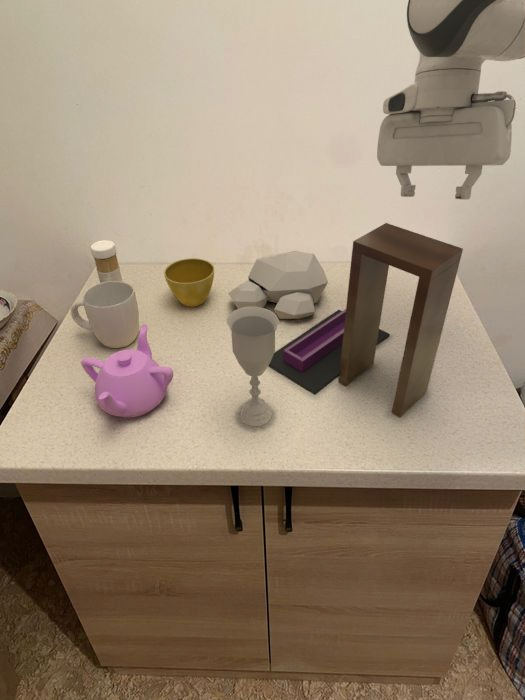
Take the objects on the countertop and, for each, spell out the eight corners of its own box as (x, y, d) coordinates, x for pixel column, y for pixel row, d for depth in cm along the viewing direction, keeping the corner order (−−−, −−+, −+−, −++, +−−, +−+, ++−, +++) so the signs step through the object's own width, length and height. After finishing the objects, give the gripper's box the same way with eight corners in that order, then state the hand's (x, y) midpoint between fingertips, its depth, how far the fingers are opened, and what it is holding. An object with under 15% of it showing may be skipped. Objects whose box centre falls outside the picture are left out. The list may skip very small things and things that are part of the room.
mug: (149, 326, 98) (141, 282, 92) (133, 354, 91) (123, 309, 85) (88, 321, 100) (76, 277, 94) (68, 349, 93) (53, 303, 87)
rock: (325, 327, 97) (329, 284, 91) (224, 321, 99) (220, 279, 93) (327, 279, 111) (330, 239, 105) (238, 275, 113) (235, 235, 107)
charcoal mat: (338, 311, 101) (338, 309, 101) (389, 335, 95) (389, 333, 94) (262, 362, 89) (262, 360, 89) (314, 394, 83) (314, 392, 82)
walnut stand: (366, 360, 89) (386, 222, 73) (426, 392, 83) (463, 248, 66) (338, 382, 85) (353, 241, 69) (400, 418, 78) (432, 270, 62)
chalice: (224, 414, 79) (215, 321, 68) (253, 392, 83) (250, 300, 72) (258, 438, 75) (255, 343, 64) (287, 413, 79) (289, 320, 68)
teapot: (153, 362, 90) (145, 322, 84) (184, 410, 80) (177, 368, 75) (87, 386, 85) (74, 344, 80) (111, 439, 76) (98, 397, 70)
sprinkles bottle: (121, 294, 108) (108, 237, 99) (131, 303, 105) (118, 245, 96) (101, 302, 105) (86, 244, 97) (111, 311, 103) (96, 252, 94)
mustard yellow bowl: (162, 311, 102) (157, 281, 98) (176, 286, 110) (172, 256, 106) (210, 315, 101) (207, 284, 97) (221, 289, 109) (218, 259, 104)
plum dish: (358, 310, 101) (359, 299, 99) (376, 319, 98) (378, 308, 97) (283, 361, 89) (283, 350, 87) (302, 373, 86) (302, 361, 84)
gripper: (528, 91, 67) (511, 200, 71) (398, 105, 81) (391, 194, 86) (506, 86, 63) (489, 202, 68) (374, 102, 77) (368, 196, 82)
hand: (433, 198), depth 77 cm, fingers open, 8 cm apart
